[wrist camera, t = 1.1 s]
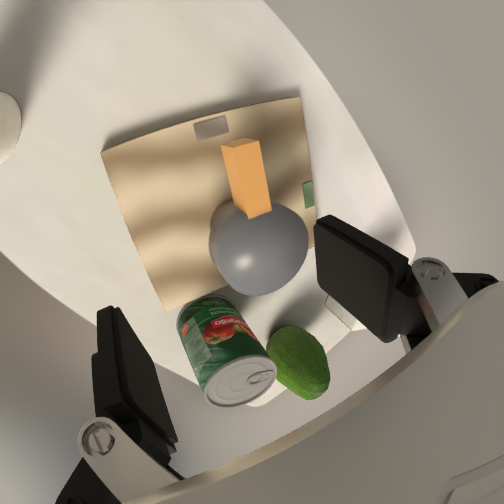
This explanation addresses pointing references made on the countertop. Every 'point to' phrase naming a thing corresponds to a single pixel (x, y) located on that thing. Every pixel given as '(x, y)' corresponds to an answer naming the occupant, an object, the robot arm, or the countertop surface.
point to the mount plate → (203, 189)
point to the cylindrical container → (8, 125)
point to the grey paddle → (255, 228)
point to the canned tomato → (224, 352)
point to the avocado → (299, 362)
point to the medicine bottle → (351, 318)
